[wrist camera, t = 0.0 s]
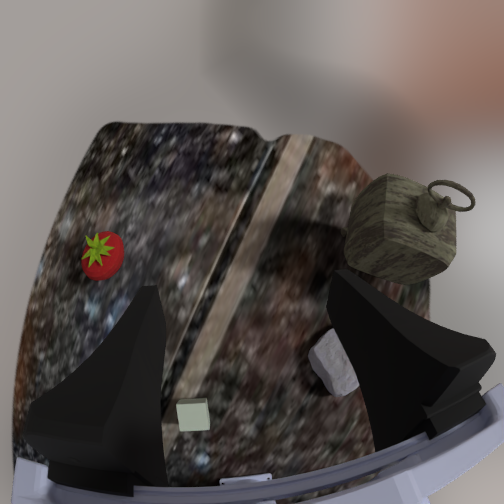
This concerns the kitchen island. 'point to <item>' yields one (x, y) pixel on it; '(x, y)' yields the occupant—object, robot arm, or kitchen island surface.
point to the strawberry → (102, 256)
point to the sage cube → (193, 414)
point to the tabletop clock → (402, 229)
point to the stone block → (333, 365)
